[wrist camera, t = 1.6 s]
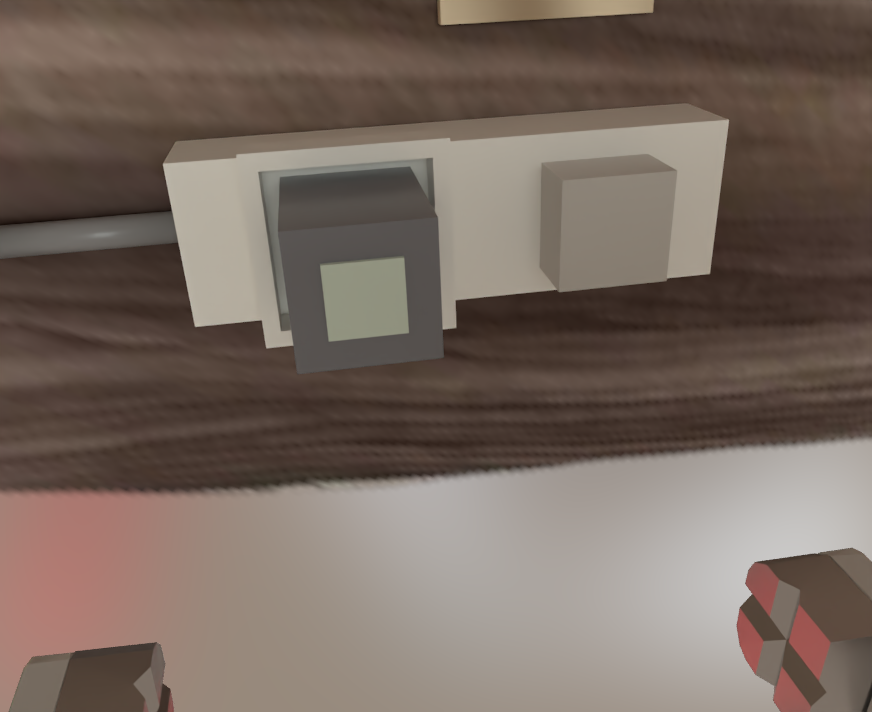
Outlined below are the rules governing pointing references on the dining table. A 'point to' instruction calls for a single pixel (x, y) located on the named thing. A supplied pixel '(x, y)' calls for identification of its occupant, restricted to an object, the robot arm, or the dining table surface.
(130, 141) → the dining table surface
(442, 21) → the coaster
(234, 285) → the power strip
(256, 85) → the dining table surface
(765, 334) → the dining table surface
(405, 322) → the block
